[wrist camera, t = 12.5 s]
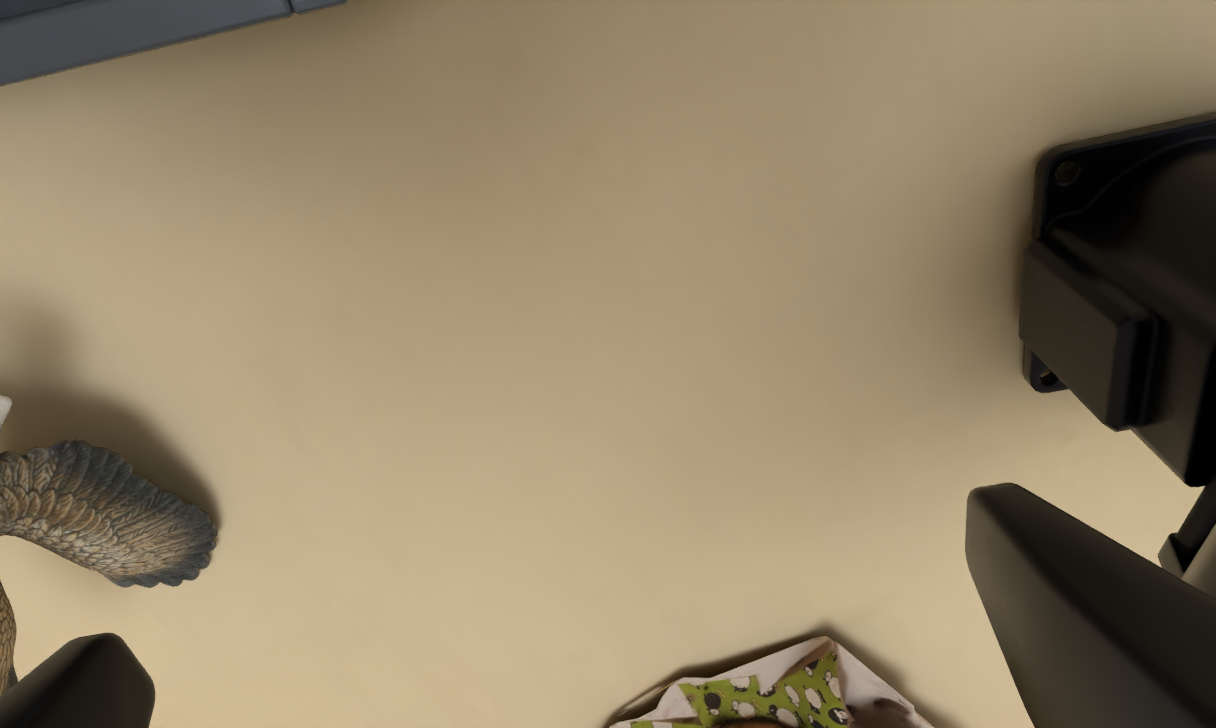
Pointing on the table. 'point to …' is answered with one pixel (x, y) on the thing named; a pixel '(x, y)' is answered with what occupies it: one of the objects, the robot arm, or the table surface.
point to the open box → (120, 28)
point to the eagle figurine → (95, 521)
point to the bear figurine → (785, 695)
